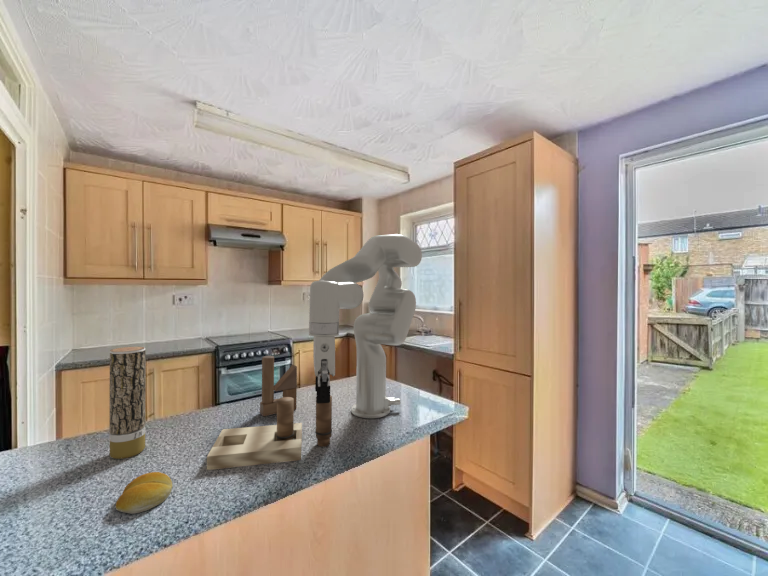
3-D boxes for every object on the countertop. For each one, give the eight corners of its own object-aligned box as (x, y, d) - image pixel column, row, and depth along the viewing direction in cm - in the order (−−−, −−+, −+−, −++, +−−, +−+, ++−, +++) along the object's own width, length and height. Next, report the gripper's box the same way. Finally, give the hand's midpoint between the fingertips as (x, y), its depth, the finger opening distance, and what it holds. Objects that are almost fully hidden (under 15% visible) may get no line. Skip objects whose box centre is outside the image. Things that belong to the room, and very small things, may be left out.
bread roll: (109, 521, 57) (109, 498, 57) (128, 490, 66) (128, 470, 66) (165, 510, 60) (165, 488, 60) (177, 482, 68) (177, 463, 68)
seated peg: (294, 442, 86) (294, 396, 86) (293, 450, 82) (293, 401, 81) (277, 444, 85) (277, 397, 85) (275, 452, 81) (275, 403, 80)
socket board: (301, 433, 91) (301, 422, 91) (301, 460, 77) (301, 447, 77) (222, 440, 86) (222, 429, 86) (206, 470, 73) (206, 456, 73)
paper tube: (105, 463, 75) (106, 352, 75) (113, 449, 81) (113, 347, 81) (142, 456, 78) (142, 350, 78) (147, 444, 84) (147, 345, 84)
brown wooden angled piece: (296, 409, 108) (297, 354, 108) (263, 417, 102) (263, 358, 102) (292, 406, 111) (293, 352, 111) (259, 413, 105) (260, 356, 105)
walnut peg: (331, 439, 88) (331, 393, 88) (332, 446, 84) (332, 399, 84) (315, 440, 87) (315, 395, 87) (315, 448, 83) (315, 400, 83)
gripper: (342, 333, 77) (340, 407, 77) (335, 326, 94) (334, 386, 94) (309, 333, 76) (307, 409, 75) (308, 325, 92) (306, 387, 92)
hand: (322, 396), depth 84 cm, fingers open, 9 cm apart
